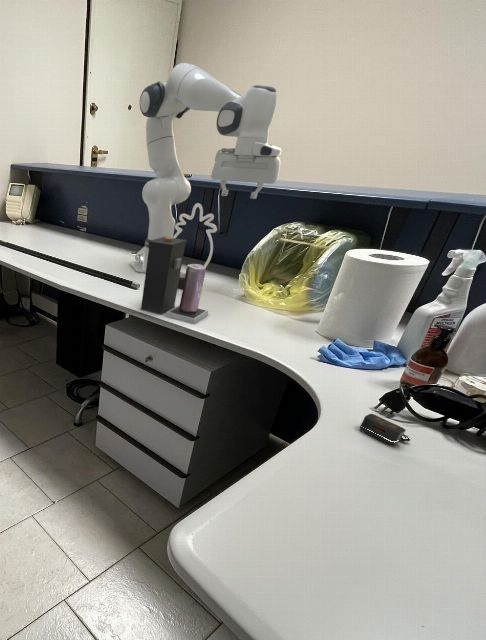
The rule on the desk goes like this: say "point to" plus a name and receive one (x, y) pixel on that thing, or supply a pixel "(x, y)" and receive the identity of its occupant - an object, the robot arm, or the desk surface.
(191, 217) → the lamp
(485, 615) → the desk surface
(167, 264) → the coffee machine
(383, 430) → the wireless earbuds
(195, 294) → the beverage can
